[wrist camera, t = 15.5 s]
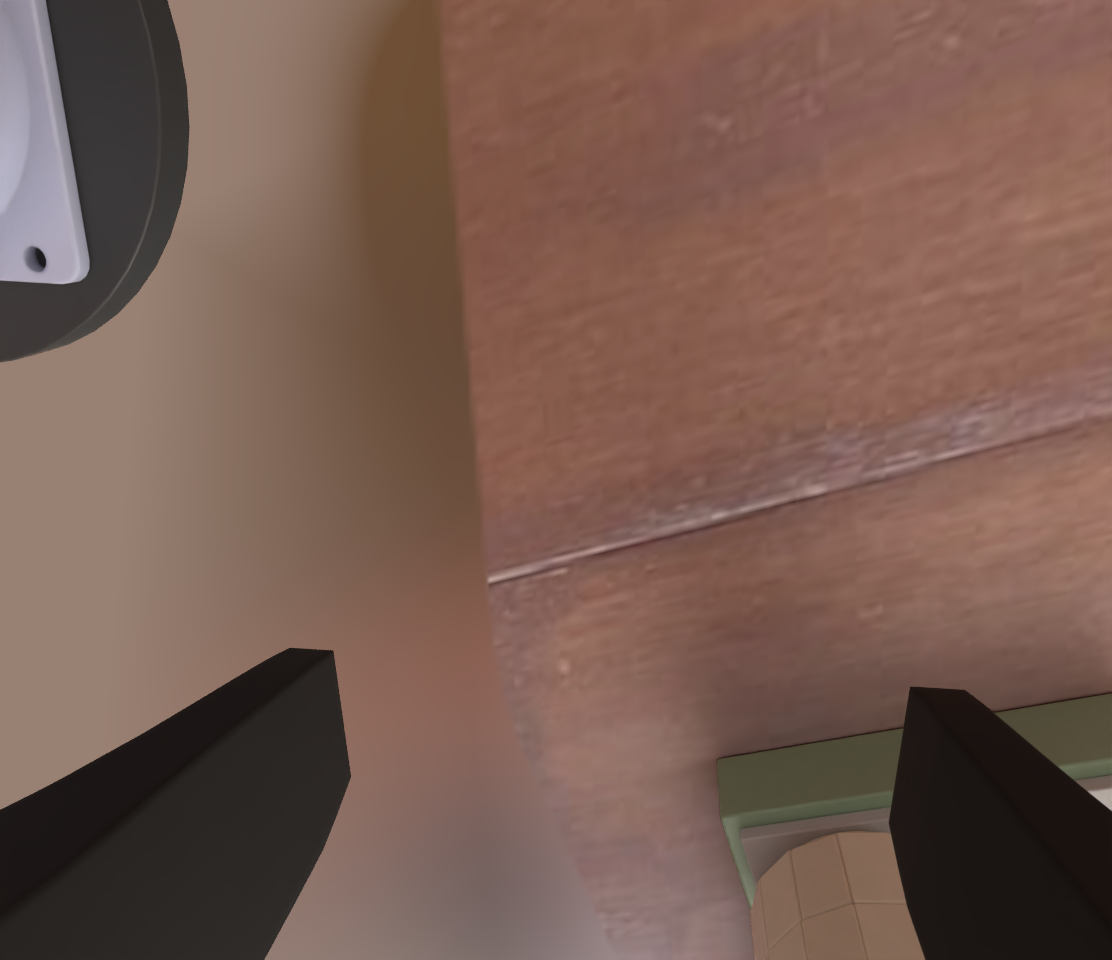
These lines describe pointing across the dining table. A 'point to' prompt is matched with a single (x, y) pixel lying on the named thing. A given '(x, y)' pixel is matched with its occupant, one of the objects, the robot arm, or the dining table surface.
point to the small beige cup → (834, 903)
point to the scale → (878, 781)
